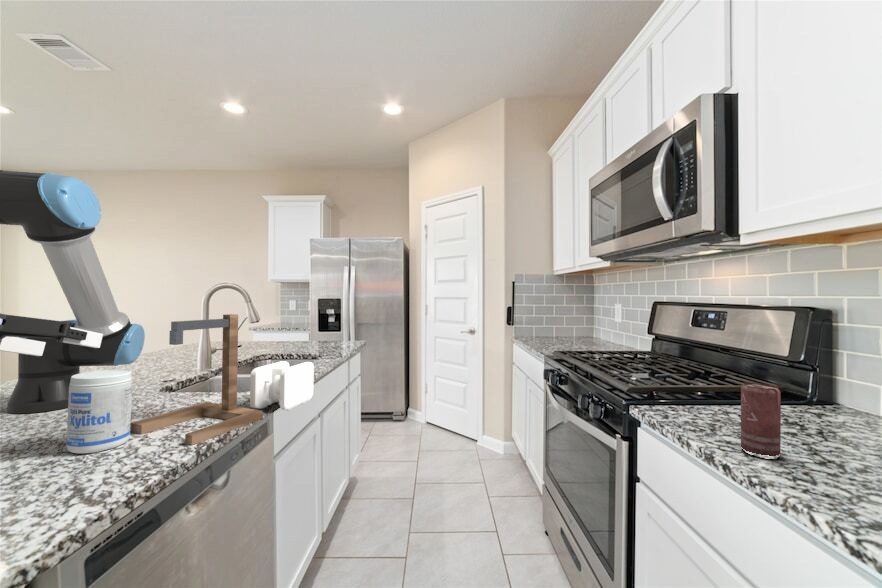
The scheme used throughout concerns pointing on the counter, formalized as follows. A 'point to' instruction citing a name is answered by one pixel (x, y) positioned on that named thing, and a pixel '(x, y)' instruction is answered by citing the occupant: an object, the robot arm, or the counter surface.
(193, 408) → the wooden hook stand
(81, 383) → the supplement tub
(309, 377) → the cable organizer
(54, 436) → the counter surface
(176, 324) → the hook arm
